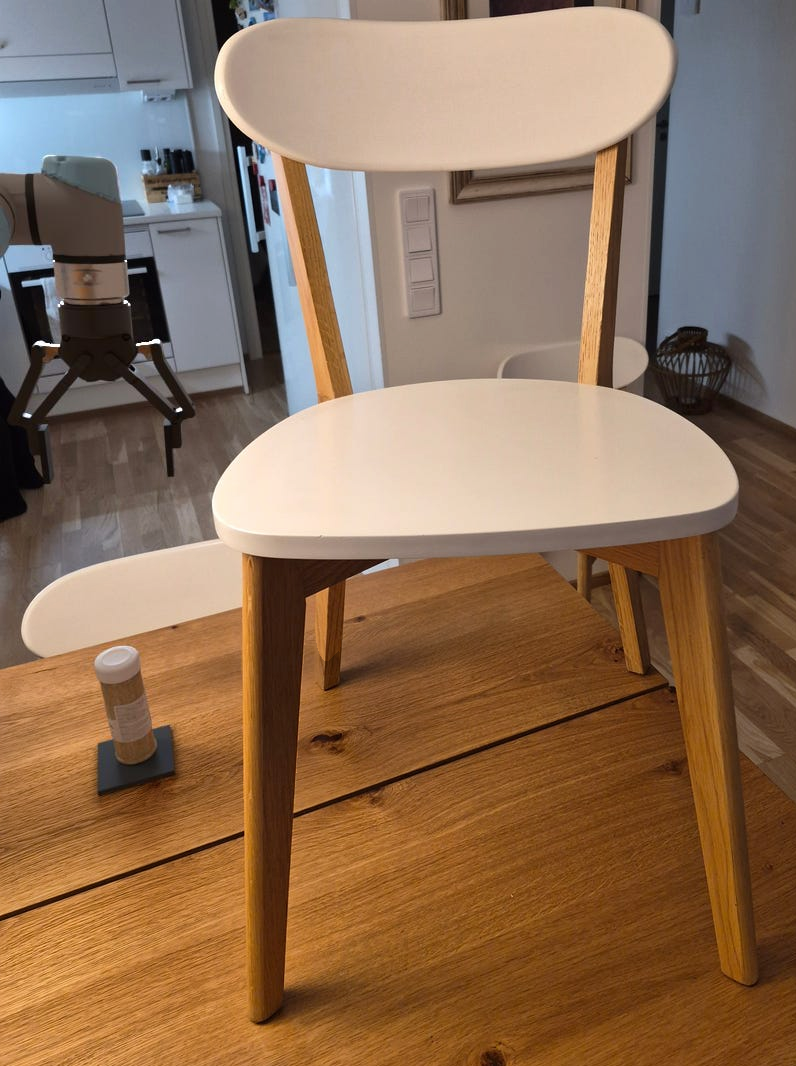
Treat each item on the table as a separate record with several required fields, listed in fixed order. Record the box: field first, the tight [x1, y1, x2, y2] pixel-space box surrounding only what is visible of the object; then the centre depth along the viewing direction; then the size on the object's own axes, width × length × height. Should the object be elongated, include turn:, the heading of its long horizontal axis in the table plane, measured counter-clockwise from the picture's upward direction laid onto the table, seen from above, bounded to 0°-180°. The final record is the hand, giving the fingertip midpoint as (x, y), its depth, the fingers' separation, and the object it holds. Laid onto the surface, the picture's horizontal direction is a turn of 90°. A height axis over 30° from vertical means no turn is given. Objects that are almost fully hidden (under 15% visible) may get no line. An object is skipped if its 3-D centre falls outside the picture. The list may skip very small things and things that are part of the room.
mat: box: [97, 724, 176, 796], centre depth 97 cm, size 8×8×1 cm
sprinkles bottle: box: [93, 645, 157, 764], centre depth 95 cm, size 5×5×14 cm
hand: (111, 477), depth 103 cm, fingers open, 13 cm apart
